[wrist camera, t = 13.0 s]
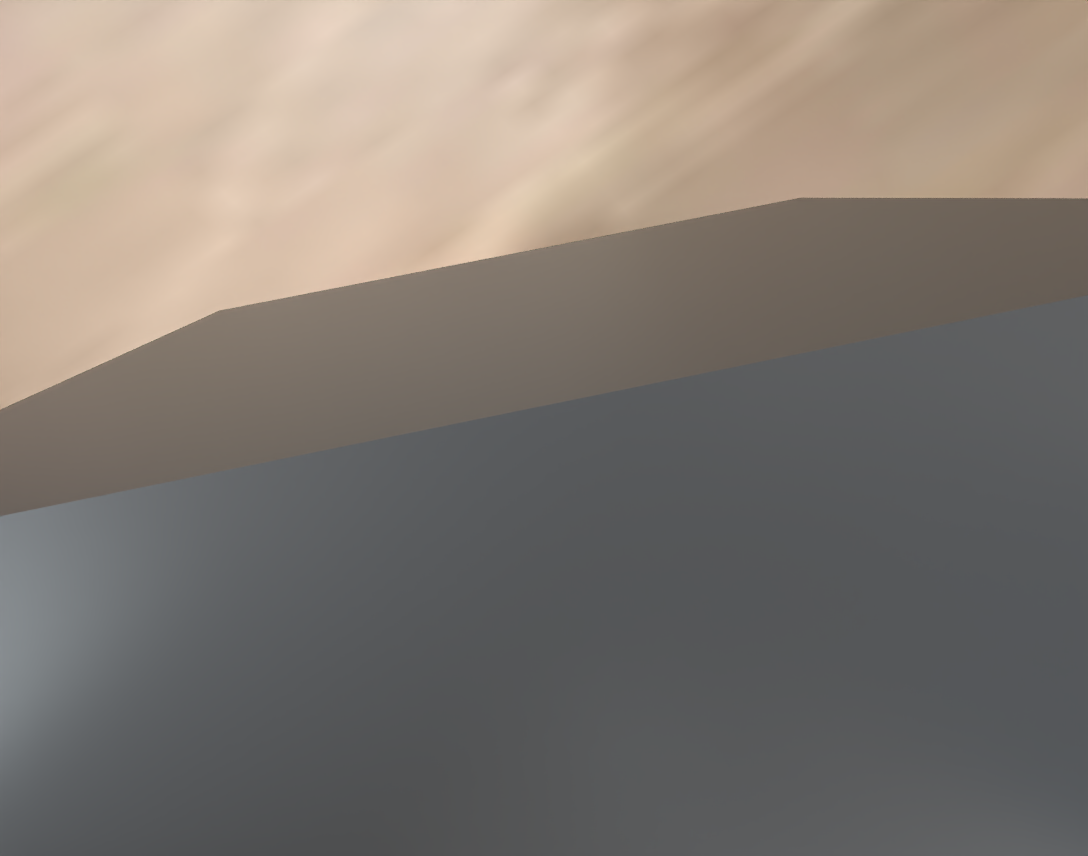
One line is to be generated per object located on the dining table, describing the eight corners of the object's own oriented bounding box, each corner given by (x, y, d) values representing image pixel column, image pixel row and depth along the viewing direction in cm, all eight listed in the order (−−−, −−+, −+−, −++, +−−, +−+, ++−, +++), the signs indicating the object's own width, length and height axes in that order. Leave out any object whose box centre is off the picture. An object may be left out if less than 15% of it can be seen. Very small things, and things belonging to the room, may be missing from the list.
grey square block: (823, 669, 15) (1240, 1226, 7) (375, 768, 15) (256, 1483, 7) (800, 198, 12) (1557, 200, 4) (219, 310, 12) (-428, 602, 3)
